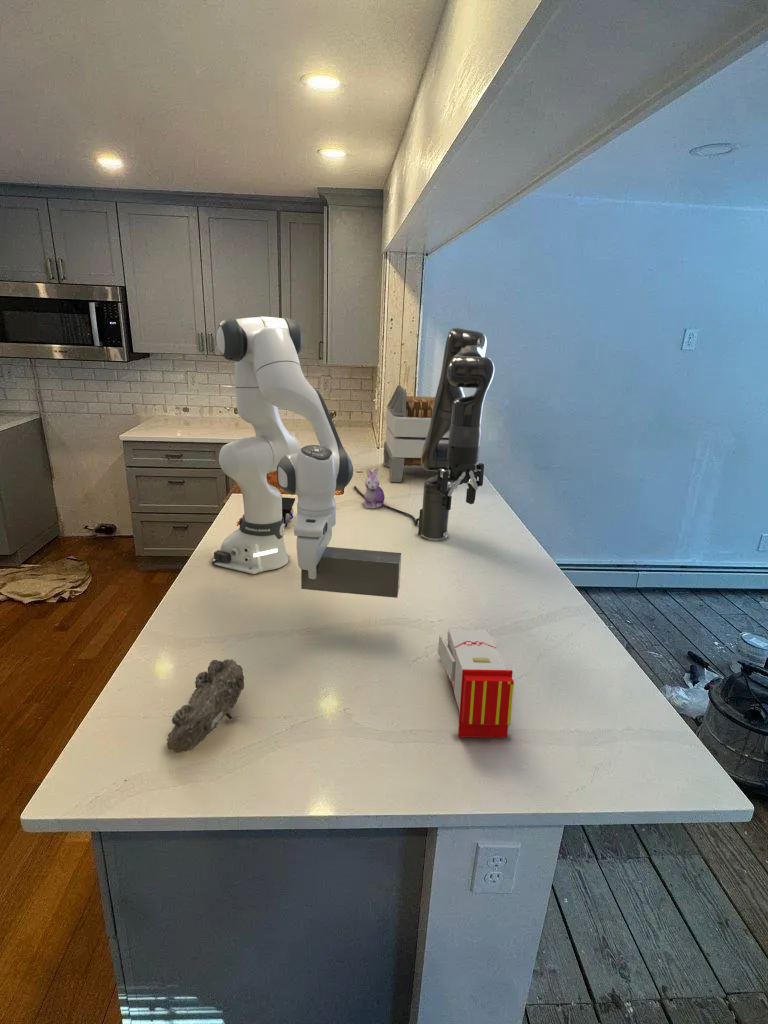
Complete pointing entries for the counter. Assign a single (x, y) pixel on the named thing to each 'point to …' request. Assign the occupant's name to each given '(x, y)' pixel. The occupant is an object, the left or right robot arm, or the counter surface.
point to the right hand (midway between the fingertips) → (458, 506)
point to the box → (356, 572)
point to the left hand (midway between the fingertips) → (316, 571)
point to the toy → (478, 682)
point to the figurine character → (287, 509)
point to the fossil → (206, 705)
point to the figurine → (373, 491)
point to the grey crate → (406, 431)
